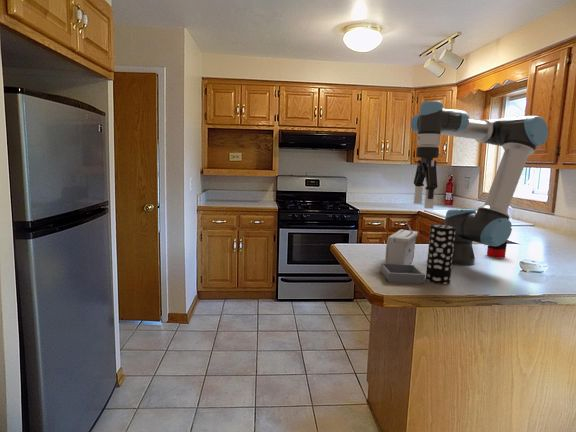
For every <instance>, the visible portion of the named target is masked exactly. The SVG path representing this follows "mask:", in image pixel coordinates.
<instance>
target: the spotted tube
mask: <svg viewBox="0 0 576 432" xmlns="http://www.w3.org/2000/svg"><path fill="white" fill-rule="evenodd" d="M429 229H430V230H429V240H428V241H429V242H428V249H427V251H428V253H427V259H426V271H425V272H426V273H425V280H426V281H427V282H430V283H432V284H435V285H436V284H437V285H449V284H450V283H451V275H452V269H453V268H452V267H453V264H452V259H453V250H454V240H455V231H456V227H453V226H448V225H445V224H431V225H430V228H429Z"/></svg>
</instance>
